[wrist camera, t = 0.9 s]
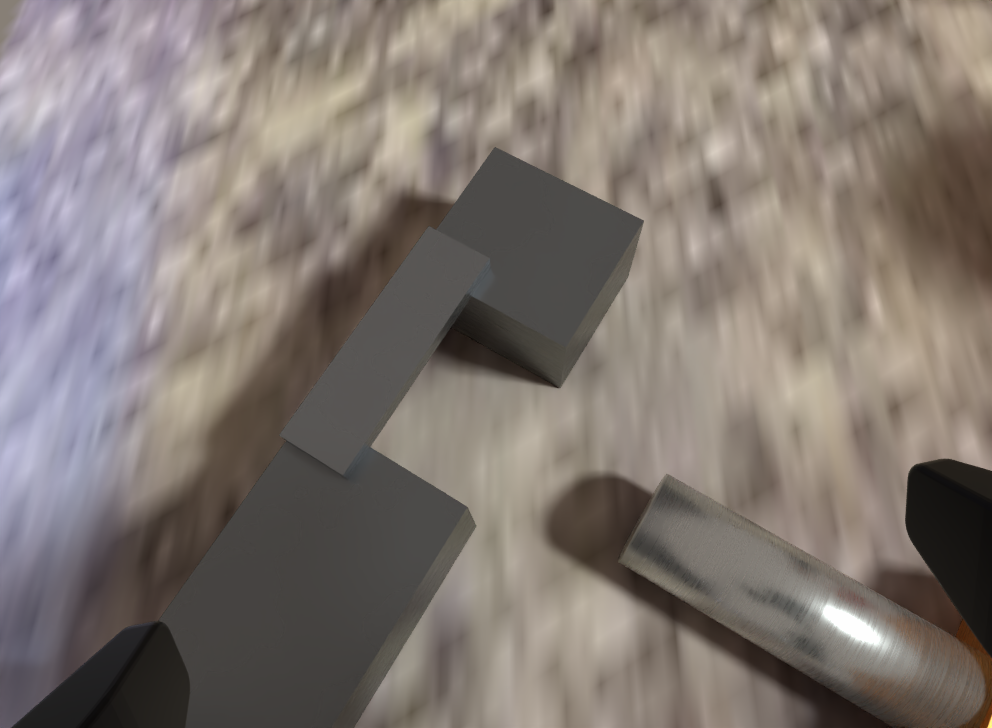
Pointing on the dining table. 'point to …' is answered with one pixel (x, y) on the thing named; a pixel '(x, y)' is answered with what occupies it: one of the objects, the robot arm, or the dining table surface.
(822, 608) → the pin
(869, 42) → the dining table surface
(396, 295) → the hitch bar
